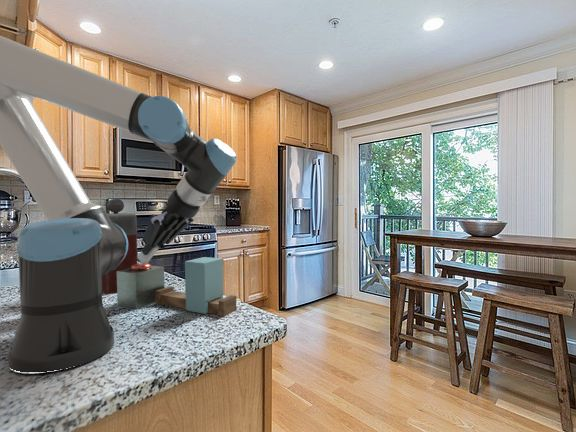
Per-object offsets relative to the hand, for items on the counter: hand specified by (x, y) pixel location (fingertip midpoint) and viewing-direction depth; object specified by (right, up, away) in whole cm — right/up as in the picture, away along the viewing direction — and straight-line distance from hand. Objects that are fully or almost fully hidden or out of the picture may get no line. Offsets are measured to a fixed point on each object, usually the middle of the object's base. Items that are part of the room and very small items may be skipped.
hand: (142, 260), depth 84 cm
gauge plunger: (0, -8, 0) cm, 8 cm away
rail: (+15, -11, -3) cm, 19 cm away
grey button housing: (0, -11, +1) cm, 11 cm away
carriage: (+18, -11, -5) cm, 22 cm away
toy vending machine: (-15, -11, +15) cm, 24 cm away
